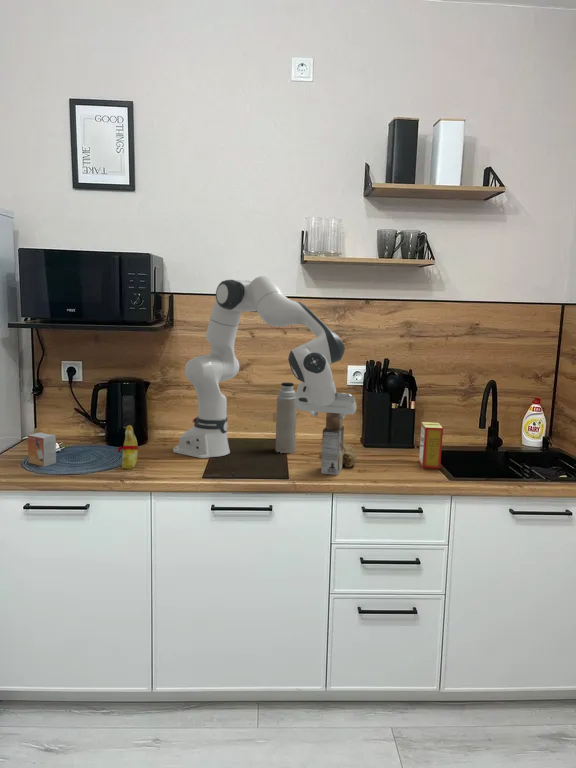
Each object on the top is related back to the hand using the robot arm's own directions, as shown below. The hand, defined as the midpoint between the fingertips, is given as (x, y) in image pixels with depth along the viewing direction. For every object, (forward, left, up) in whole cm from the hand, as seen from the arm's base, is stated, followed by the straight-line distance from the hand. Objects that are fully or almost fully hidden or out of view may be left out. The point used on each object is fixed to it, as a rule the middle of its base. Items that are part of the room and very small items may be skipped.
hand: (328, 416), depth 198 cm
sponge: (-1, +24, -23) cm, 33 cm away
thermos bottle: (-24, +28, -22) cm, 43 cm away
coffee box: (0, +10, -23) cm, 25 cm away
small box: (-99, -24, -23) cm, 105 cm away
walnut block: (0, +10, -6) cm, 12 cm away
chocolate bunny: (-70, -14, -23) cm, 75 cm away
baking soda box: (+32, +33, -23) cm, 51 cm away
